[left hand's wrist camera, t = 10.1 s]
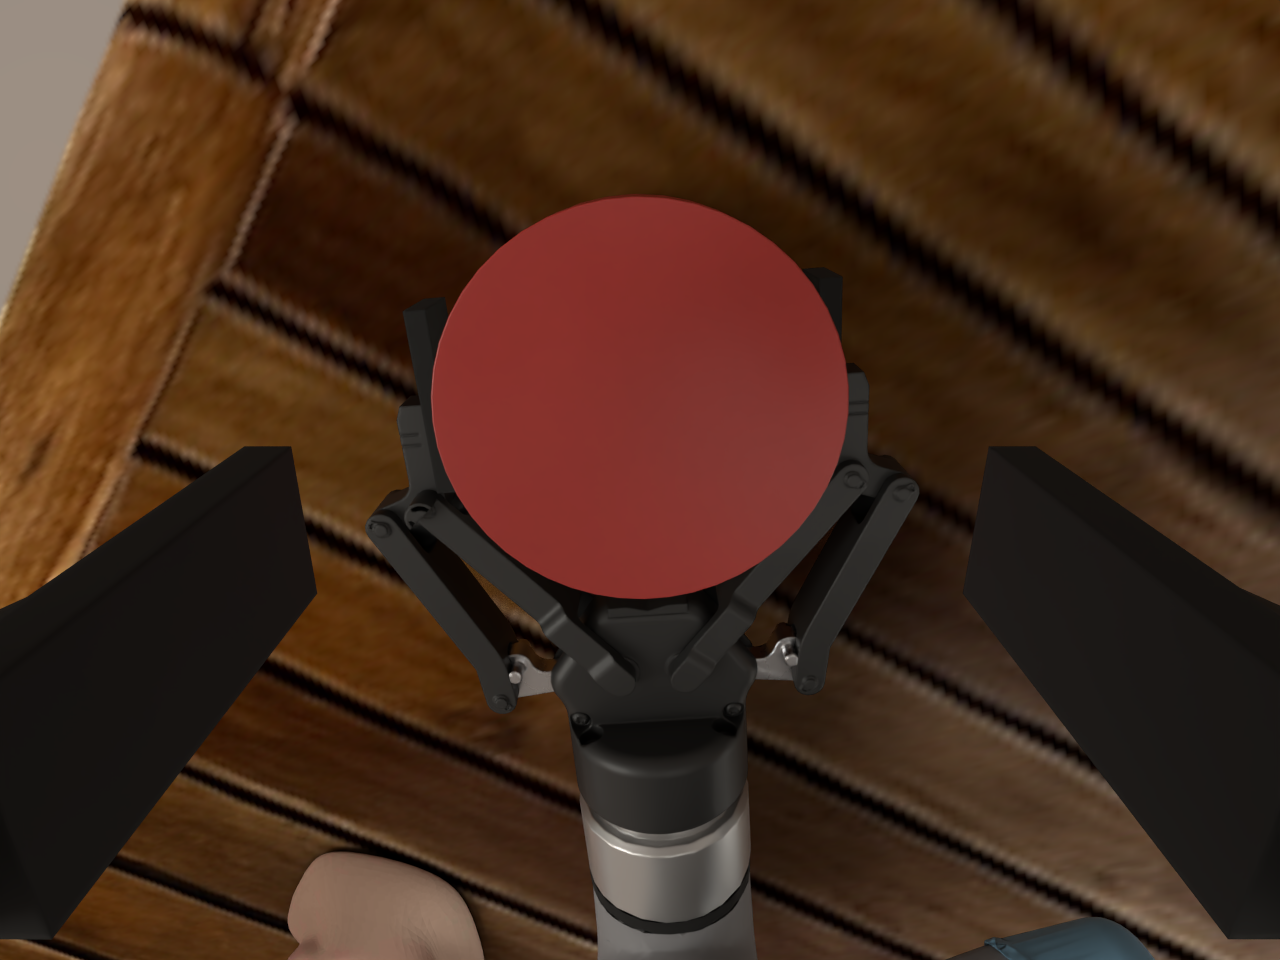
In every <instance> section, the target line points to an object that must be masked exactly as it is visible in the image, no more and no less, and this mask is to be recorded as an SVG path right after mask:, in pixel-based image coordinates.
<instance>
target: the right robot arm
mask: <svg viewBox="0 0 1280 960" xmlns="http://www.w3.org/2000/svg"><path fill="white" fill-rule="evenodd" d="M803 273H804V274H805V275H806V276H807V278H808V279H809V280H810V281H811V282H812V284H813V285H814V287H815V288H816V290H817V292H818V293H819V295H820V297H821V298H822V300H823V302H824V303H825V305H826V307H827V308H828V311H829V313H830V315H831V318H832V320H833V322H834V325H835V327H836V329H837V332H838V334H839V338H840V342H841V328H842V276H840V275H838V274H836V273H834V272H832V271H830V270H828V269H826V268H824V267H821V268H808V269H803ZM403 315H404V321H405V326H406V331H407V337H408V342H409V347H410V352H411V358H412V363H413V368H414V373H415V379H416V384H417V389H418V395H417V396H410V397H409V398H408V399H407V400H406V401H405V402H404V403H403V404H402V405H401V406H400V407H399V412H398V417H397V424H398V429H399V434H400V439H401V444H402V447H403V448H402V449H403V454H404V459H405V464H406V469H407V474H408V479H409V487H407V488H405V489H403V490H394V491H391V492H390V493H389V494H388V495H387V496H386V497H385V499H384V500H383V501H382V502H381V504H380V505H379V506H378V508H377V509H376V510H375V511H374V513H373V514H372V515H371V517H370V518H369V519H368V520H367V523H366V525H365V528H366V533H367V535H368V537H369V538H370V539H371V540H372V542H373V543H374V544H375V545H376V547H377V548H378V549H379V550H380V552H381V553H382V554H383V555H384V557H385V558H386V559H387V560H388V561H389V563H390V564H391V565H392V566H393V568H394V569H395V570H396V571H397V573H398V574H399V575H400V576H401V578H402V579H403V580H404V581H405V583H406V584H407V585H408V586H409V587H410V589H411V590H412V591H413V592H414V594H415V595H416V596H417V597H418V599H419V600H420V601H421V602H422V604H423V605H424V606H425V607H426V608H427V610H428V611H429V612H430V613H431V615H432V616H433V617H434V618H435V620H436V621H437V622H438V623H439V625H440V626H441V627H442V628H443V629H444V631H445V632H446V633H447V634H448V636H449V637H450V638H451V639H452V641H453V642H454V643H455V644H456V646H457V647H458V648H459V649H460V650H461V652H462V653H463V654H464V655H465V657H466V658H467V659H468V660H469V662H470V663H471V664H472V665H473V667H474V668H475V669H476V670H477V673H478V676H479V680H480V683H481V686H482V689H483V692H484V695H485V698H486V701H487V704H488V706H489V708H490V709H491V710H493V711H494V712H497V713H500V714H506V713H509V712H511V711H512V710H513V709H515V706H516V704H517V700H518V697H523V696H529V695H535V694H541V693H548V692H555V693H556V695H557V696H558V697H559V698H560V699H561V700H562V702H563V703H564V705H565V707H566V709H567V712H568V717H569V724H570V731H571V738H572V745H573V753H574V760H575V767H576V774H577V781H578V787H579V790H580V805H581V812H582V818H583V825H584V832H585V838H586V845H587V852H588V858H589V867H590V872H591V878H592V883H593V889H594V900H595V910H596V920H597V932H598V960H757V953H756V946H755V938H754V928H753V913H752V899H751V885H750V852H751V841H750V817H749V793H748V781H747V772H748V757H747V726H746V697H747V693H748V691H749V689H750V687H751V686H752V684H753V682H754V681H755V679H768V680H793V682H794V685H795V688H796V689H797V691H798V692H800V693H802V694H805V695H813V694H815V693H817V692H819V691H820V690H821V689H822V688H823V686H824V683H825V677H826V670H827V664H828V657H829V650H830V647H831V645H832V643H833V642H834V640H835V638H836V637H837V635H838V633H839V631H840V630H841V628H842V626H843V625H844V623H845V621H846V620H847V618H848V616H849V614H850V613H851V611H852V609H853V608H854V606H855V604H856V602H857V601H858V599H859V597H860V596H861V594H862V592H863V591H864V589H865V587H866V585H867V584H868V582H869V580H870V579H871V577H872V575H873V574H874V572H875V570H876V568H877V567H878V565H879V563H880V562H881V560H882V558H883V556H884V555H885V553H886V551H887V550H888V548H889V546H890V545H891V543H892V541H893V539H894V538H895V536H896V534H897V533H898V531H899V529H900V527H901V526H902V524H903V522H904V521H905V519H906V517H907V516H908V514H909V512H910V510H911V509H912V507H913V505H914V504H915V502H916V500H917V498H918V495H919V487H918V485H917V483H916V482H915V481H914V480H913V478H912V477H911V476H910V475H909V474H908V473H907V472H906V471H905V470H904V468H903V467H902V466H901V465H900V464H899V463H898V462H897V461H896V459H894V458H893V457H891V456H888V455H882V456H876V455H873V454H869V453H867V437H868V407H869V403H868V401H869V384H868V381H867V379H866V376H865V374H864V372H863V371H862V370H861V369H860V368H859V367H858V366H856V365H855V364H854V363H846V369H847V377H848V385H849V407H848V419H847V426H846V433H845V439H844V443H843V446H842V449H841V453H840V456H839V460H838V463H837V466H836V468H835V470H834V473H833V475H832V477H831V479H830V482H829V484H828V486H827V488H826V490H825V492H824V493H823V495H822V497H821V498H820V500H819V502H818V503H817V505H816V507H815V508H814V510H813V511H812V512H811V514H810V515H809V516H808V517H807V519H806V520H805V521H804V522H803V524H802V525H801V526H800V528H799V529H798V530H797V531H796V532H795V533H794V534H793V535H792V536H791V537H790V538H789V539H788V540H787V541H786V542H785V543H784V544H783V545H782V546H781V547H779V548H778V549H777V550H776V551H774V552H773V553H772V554H770V555H769V556H768V557H767V558H765V559H764V560H763V561H761V562H760V563H758V564H756V565H755V566H753V567H751V568H750V569H748V570H746V571H745V572H743V573H741V574H740V575H738V576H735V577H733V578H731V579H729V580H727V581H724V582H722V583H720V584H718V585H715V586H712V587H709V588H705V589H702V590H699V591H696V592H692V593H687V594H682V595H677V596H672V597H663V598H650V599H632V598H616V597H610V596H603V595H596V594H592V593H589V592H585V591H581V590H578V589H574V588H571V587H568V586H566V585H563V584H561V583H558V582H556V581H553V580H551V579H548V578H546V577H544V576H543V575H541V574H539V573H537V572H535V571H533V570H532V569H530V568H528V567H526V566H525V565H523V564H522V563H521V562H519V561H518V560H516V559H515V558H514V557H512V556H511V555H509V554H508V553H507V552H505V551H504V550H503V549H502V548H501V547H500V546H499V545H498V544H497V543H495V542H494V541H493V540H492V539H491V538H490V537H489V536H488V535H487V534H486V533H485V532H484V531H483V529H482V528H481V527H480V526H479V525H478V524H477V522H476V521H475V520H474V519H473V518H472V517H471V515H470V514H469V512H468V511H467V509H466V508H465V506H464V505H463V503H462V502H461V500H460V499H459V497H458V496H457V494H456V492H455V490H454V488H453V486H452V484H451V482H450V479H449V477H448V475H447V473H446V471H445V468H444V465H443V462H442V459H441V456H440V453H439V450H438V447H437V442H436V437H435V432H434V427H433V422H432V405H431V389H432V376H433V367H434V362H435V358H436V353H437V349H438V344H439V341H440V338H441V335H442V333H443V330H444V327H445V325H446V322H447V319H448V313H447V307H446V302H445V297H441V298H429V299H423V300H421V301H420V302H418V303H416V304H414V305H413V306H411V307H409V308H408V309H406V310H404V311H403ZM838 519H839V520H838ZM837 520H838V522H837V524H836V526H835V527H834V529H833V531H832V533H831V535H830V537H829V538H828V540H827V542H826V544H825V546H824V547H823V549H822V551H821V553H820V555H819V557H818V558H817V560H816V562H815V564H814V566H813V567H812V569H811V571H810V573H809V575H808V576H807V578H806V580H805V582H804V584H803V586H802V587H801V589H800V591H799V593H798V595H797V596H796V598H795V601H794V603H793V605H792V607H791V611H790V614H789V618H788V623H784V622H782V623H779V624H777V626H776V627H775V630H774V631H773V632H772V635H771V637H770V639H769V640H768V641H767V642H766V643H765V644H763V645H761V646H752V643H751V642H750V640H749V639H748V638H747V637H746V636H745V634H744V633H745V632H746V630H747V629H748V628H749V627H750V626H751V625H752V623H753V621H754V620H755V617H756V614H757V611H758V609H759V607H760V606H761V605H762V604H763V603H764V601H765V600H766V599H767V598H768V597H769V596H770V595H771V594H772V593H773V591H774V590H775V589H776V588H777V587H778V586H779V585H780V584H781V583H782V581H783V580H784V579H785V578H786V577H787V576H788V575H789V574H790V573H791V571H792V570H793V569H794V568H795V567H796V566H797V565H798V564H799V563H800V561H801V560H802V559H803V558H804V557H805V556H806V555H807V554H808V552H809V551H810V550H811V549H812V548H813V547H814V546H815V545H816V544H817V542H818V541H819V540H820V539H821V538H822V537H823V536H824V535H825V534H826V532H827V531H828V530H829V529H830V528H831V527H832V526H833V525H834V524H835V522H836V521H837ZM460 558H462V559H463V560H464V561H465V562H466V563H468V564H469V565H470V566H471V567H472V568H474V569H475V570H476V571H477V572H478V573H480V574H481V575H482V576H483V577H484V578H486V579H487V580H488V581H489V582H491V583H492V584H493V585H494V586H495V587H497V588H498V589H499V590H500V591H501V592H503V593H504V594H505V595H506V596H507V597H509V598H510V599H511V600H512V601H513V602H515V603H516V604H517V605H518V606H519V607H521V608H522V609H523V610H524V611H525V612H527V613H528V614H529V615H530V616H531V617H533V618H534V619H535V620H536V621H537V622H538V623H539V624H540V626H541V628H542V631H543V633H544V634H545V636H546V637H547V638H548V639H549V640H550V641H552V642H553V643H554V644H555V645H556V646H558V647H559V649H558V650H557V652H556V654H555V656H554V659H543V658H541V657H539V656H538V655H537V654H536V653H535V651H534V650H533V648H532V647H531V646H530V643H529V642H528V641H527V640H525V639H520V640H518V641H517V638H516V636H515V633H514V631H513V629H512V627H511V625H510V623H509V622H508V620H507V619H506V617H505V616H504V615H503V613H502V612H501V611H500V609H499V608H498V607H497V606H496V604H495V603H494V602H493V600H492V599H491V598H490V596H489V595H488V594H487V593H486V591H485V590H484V589H483V587H482V586H481V585H480V583H479V582H478V581H477V580H476V578H475V577H474V576H473V574H472V573H471V572H470V570H469V569H468V568H467V567H466V565H465V564H464V563H463V561H462V560H461V559H460ZM946 960H1155V959H1154V958H1153V956H1152V955H1151V954H1150V953H1149V951H1148V950H1147V949H1146V948H1145V946H1144V945H1143V944H1142V943H1141V942H1140V941H1139V940H1138V939H1137V938H1136V937H1135V936H1134V935H1133V934H1132V933H1131V932H1130V931H1128V930H1127V929H1126V928H1124V927H1123V926H1121V925H1119V924H1117V923H1115V922H1113V921H1110V920H1108V919H1104V918H1100V917H1086V918H1081V919H1077V920H1073V921H1069V922H1065V923H1061V924H1057V925H1053V926H1049V927H1045V928H1041V929H1037V930H1033V931H1029V932H1025V933H1021V934H1017V935H1013V936H1009V937H1005V938H996V937H993V938H990V939H987V940H985V942H984V946H982V947H979V948H977V949H974V950H971V951H968V952H965V953H963V954H960V955H957V956H954V957H952V958H949V959H946Z"/></svg>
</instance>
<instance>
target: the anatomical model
mask: <svg viewBox="0 0 1280 960" xmlns="http://www.w3.org/2000/svg"><path fill="white" fill-rule="evenodd" d="M288 925H289V929H290V931H291V933H292V934H293V936H294V937H295V939H296V940H297V941H298V942H299V943H300V945H299V947H298V948H297V949H296V950H295V951H294V952H293V953H292V954H291V956H290V957H289V958H288V960H484V956H483V950H482V946H481V942H480V939H479V936H478V932H477V929H476V926H475V923H474V921H473V918H472V916H471V914H470V911H469V909H468V907H467V905H466V903H465V902H464V900H463V899H462V897H461V896H460V894H459V893H458V892H457V891H456V890H455V889H454V888H453V887H452V886H451V885H450V884H449V883H447V882H446V881H444V880H443V879H441V878H440V877H438V876H436V875H434V874H432V873H430V872H428V871H425V870H423V869H420V868H418V867H415V866H412V865H409V864H406V863H403V862H399V861H395V860H391V859H387V858H383V857H378V856H373V855H368V854H362V853H354V852H331V853H326V854H323V855H321V856H319V857H318V858H316V859H315V860H314V861H313V862H312V863H311V865H310V866H309V867H308V869H307V870H306V872H305V873H304V875H303V877H302V879H301V881H300V883H299V885H298V886H297V888H296V890H295V893H294V895H293V898H292V901H291V905H290V909H289V914H288Z"/></svg>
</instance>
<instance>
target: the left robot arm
mask: <svg viewBox="0 0 1280 960" xmlns="http://www.w3.org/2000/svg"><path fill="white" fill-rule="evenodd" d="M316 594H317V590H316V584H315V578H314V573H313V567H312V561H311V556H310V550H309V545H308V539H307V533H306V528H305V522H304V516H303V511H302V505H301V500H300V494H299V488H298V483H297V477H296V471H295V466H294V460H293V455H292V449H291V446H244V447H243V448H242V449H240V450H239V451H237V452H236V453H234V454H233V455H231V456H230V457H229V458H227V459H226V460H224V461H223V462H221V463H220V464H218V465H217V466H216V467H214V468H213V469H211V470H210V471H208V472H207V473H205V474H204V475H203V476H201V477H200V478H198V479H197V480H195V481H194V482H192V483H191V484H190V485H188V486H187V487H185V488H184V489H182V490H181V491H179V492H178V493H177V494H175V495H174V496H172V497H171V498H169V499H168V500H166V501H165V502H164V503H162V504H161V505H159V506H158V507H156V508H155V509H153V510H152V511H151V512H149V513H148V514H146V515H145V516H143V517H142V518H140V519H139V520H138V521H136V522H135V523H133V524H132V525H130V526H129V527H127V528H126V529H125V530H123V531H122V532H120V533H119V534H117V535H116V536H114V537H113V538H112V539H110V540H109V541H107V542H106V543H104V544H103V545H101V546H100V547H99V548H97V549H96V550H94V551H93V552H91V553H90V554H88V555H87V556H86V557H84V558H83V559H81V560H80V561H78V562H77V563H75V564H74V565H73V566H71V567H70V568H68V569H67V570H65V571H64V572H62V573H61V574H60V575H58V576H57V577H55V578H54V579H52V580H51V581H49V582H48V583H47V584H45V585H44V586H42V587H41V588H39V589H38V590H36V591H35V592H34V593H32V594H31V595H29V596H28V597H26V598H24V599H22V600H19V601H17V602H15V603H13V604H10V605H8V606H6V607H4V608H2V609H0V939H52V938H53V937H54V936H55V934H56V933H57V932H58V931H59V929H60V928H61V927H62V925H63V924H64V923H65V921H66V920H67V919H68V918H69V916H70V915H71V914H72V912H73V911H74V910H75V908H76V907H77V906H78V904H79V903H80V902H81V901H82V899H83V898H84V897H85V895H86V894H87V893H88V891H89V890H90V889H91V888H92V886H93V885H94V884H95V882H96V881H97V880H98V878H99V877H100V876H101V875H102V873H103V872H104V871H105V869H106V868H107V867H108V865H109V864H110V863H111V861H112V860H113V859H114V858H115V856H116V855H117V854H118V852H119V851H120V850H121V848H122V847H123V846H124V845H125V843H126V842H127V841H128V839H129V838H130V837H131V835H132V834H133V833H134V831H135V830H136V829H137V828H138V826H139V825H140V824H141V822H142V821H143V820H144V818H145V817H146V816H147V815H148V813H149V812H150V811H151V809H152V808H153V807H154V805H155V804H156V803H157V802H158V800H159V799H160V798H161V796H162V795H163V794H164V792H165V791H166V790H167V788H168V787H169V786H170V785H171V783H172V782H173V781H174V779H175V778H176V777H177V775H178V774H179V773H180V772H181V770H182V769H183V768H184V766H185V765H186V764H187V762H188V761H189V760H190V758H191V757H192V756H193V755H194V753H195V752H196V751H197V749H198V748H199V747H200V745H201V744H202V743H203V742H204V740H205V739H206V738H207V736H208V735H209V734H210V732H211V731H212V730H213V728H214V727H215V726H216V725H217V723H218V722H219V721H220V719H221V718H222V717H223V715H224V714H225V713H226V712H227V710H228V709H229V708H230V706H231V705H232V704H233V702H234V701H235V700H236V699H237V697H238V696H239V695H240V693H241V692H242V691H243V689H244V688H245V687H246V685H247V684H248V683H249V682H250V680H251V679H252V678H253V676H254V675H255V674H256V672H257V671H258V670H259V669H260V667H261V666H262V665H263V663H264V662H265V661H266V659H267V658H268V657H269V655H270V654H271V653H272V652H273V650H274V649H275V648H276V646H277V645H278V644H279V642H280V641H281V640H282V639H283V637H284V636H285V635H286V633H287V632H288V631H289V629H290V628H291V627H292V626H293V624H294V623H295V622H296V620H297V619H298V618H299V616H300V615H301V614H302V612H303V611H304V610H305V609H306V607H307V606H308V605H309V603H310V602H311V601H312V599H313V598H314V597H315V596H316ZM963 594H964V596H965V597H966V598H967V599H968V601H969V602H970V603H971V605H972V606H973V607H974V609H975V610H976V611H977V612H978V614H979V615H980V616H981V618H982V619H983V620H984V622H985V623H986V624H987V626H988V627H989V628H990V629H991V631H992V632H993V633H994V635H995V636H996V637H997V639H998V640H999V641H1000V642H1001V644H1002V645H1003V646H1004V648H1005V649H1006V650H1007V652H1008V653H1009V654H1010V655H1011V657H1012V658H1013V659H1014V661H1015V662H1016V663H1017V665H1018V666H1019V667H1020V669H1021V670H1022V671H1023V672H1024V674H1025V675H1026V676H1027V678H1028V679H1029V680H1030V682H1031V683H1032V684H1033V685H1034V687H1035V688H1036V689H1037V691H1038V692H1039V693H1040V695H1041V696H1042V697H1043V699H1044V700H1045V701H1046V702H1047V704H1048V705H1049V706H1050V708H1051V709H1052V710H1053V712H1054V713H1055V714H1056V715H1057V717H1058V718H1059V719H1060V721H1061V722H1062V723H1063V725H1064V726H1065V727H1066V728H1067V730H1068V731H1069V732H1070V734H1071V735H1072V736H1073V738H1074V739H1075V740H1076V742H1077V743H1078V744H1079V745H1080V747H1081V748H1082V749H1083V751H1084V752H1085V753H1086V755H1087V756H1088V757H1089V758H1090V760H1091V761H1092V762H1093V764H1094V765H1095V766H1096V768H1097V769H1098V770H1099V772H1100V773H1101V774H1102V775H1103V777H1104V778H1105V779H1106V781H1107V782H1108V783H1109V785H1110V786H1111V787H1112V788H1113V790H1114V791H1115V792H1116V794H1117V795H1118V796H1119V798H1120V799H1121V800H1122V802H1123V803H1124V804H1125V805H1126V807H1127V808H1128V809H1129V811H1130V812H1131V813H1132V815H1133V816H1134V817H1135V818H1136V820H1137V821H1138V822H1139V824H1140V825H1141V826H1142V828H1143V829H1144V830H1145V831H1146V833H1147V834H1148V835H1149V837H1150V838H1151V839H1152V841H1153V842H1154V843H1155V845H1156V846H1157V847H1158V848H1159V850H1160V851H1161V852H1162V854H1163V855H1164V856H1165V858H1166V859H1167V860H1168V861H1169V863H1170V864H1171V865H1172V867H1173V868H1174V869H1175V871H1176V872H1177V873H1178V875H1179V876H1180V877H1181V878H1182V880H1183V881H1184V882H1185V884H1186V885H1187V886H1188V888H1189V889H1190V890H1191V891H1192V893H1193V894H1194V895H1195V897H1196V898H1197V899H1198V901H1199V902H1200V903H1201V904H1202V906H1203V907H1204V908H1205V910H1206V911H1207V912H1208V914H1209V915H1210V916H1211V918H1212V919H1213V920H1214V921H1215V923H1216V924H1217V925H1218V927H1219V928H1220V929H1221V931H1222V932H1223V933H1224V934H1225V936H1226V937H1227V938H1228V939H1280V606H1279V605H1277V604H1275V603H1273V602H1270V601H1268V600H1266V599H1264V598H1261V597H1259V596H1257V595H1255V594H1252V593H1250V592H1248V591H1246V590H1244V589H1241V588H1239V587H1238V586H1236V585H1235V584H1233V583H1232V582H1231V581H1229V580H1228V579H1226V578H1225V577H1223V576H1222V575H1220V574H1219V573H1218V572H1216V571H1215V570H1213V569H1212V568H1210V567H1209V566H1207V565H1206V564H1205V563H1203V562H1202V561H1200V560H1199V559H1197V558H1196V557H1194V556H1193V555H1192V554H1190V553H1189V552H1187V551H1186V550H1184V549H1183V548H1181V547H1180V546H1179V545H1177V544H1176V543H1174V542H1173V541H1171V540H1170V539H1168V538H1167V537H1166V536H1164V535H1163V534H1161V533H1160V532H1158V531H1157V530H1155V529H1154V528H1153V527H1151V526H1150V525H1148V524H1147V523H1145V522H1144V521H1142V520H1141V519H1140V518H1138V517H1137V516H1135V515H1134V514H1132V513H1131V512H1129V511H1128V510H1127V509H1125V508H1124V507H1122V506H1121V505H1119V504H1118V503H1116V502H1115V501H1114V500H1112V499H1111V498H1109V497H1108V496H1106V495H1105V494H1103V493H1102V492H1101V491H1099V490H1098V489H1096V488H1095V487H1093V486H1092V485H1090V484H1089V483H1088V482H1086V481H1085V480H1083V479H1082V478H1080V477H1079V476H1077V475H1076V474H1075V473H1073V472H1072V471H1070V470H1069V469H1067V468H1066V467H1064V466H1063V465H1062V464H1060V463H1059V462H1057V461H1056V460H1054V459H1053V458H1051V457H1050V456H1049V455H1047V454H1046V453H1044V452H1043V451H1041V450H1040V449H1038V448H1037V447H1036V446H989V449H988V455H987V460H986V466H985V471H984V477H983V483H982V488H981V494H980V500H979V505H978V511H977V516H976V522H975V528H974V533H973V539H972V545H971V550H970V556H969V561H968V567H967V573H966V578H965V584H964V590H963Z"/></svg>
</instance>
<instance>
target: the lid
mask: <svg viewBox="0 0 1280 960" xmlns="http://www.w3.org/2000/svg"><path fill="white" fill-rule="evenodd" d="M431 405H432V422H433V427H434V432H435V437H436V442H437V447H438V450H439V453H440V456H441V459H442V462H443V465H444V468H445V471H446V473H447V475H448V477H449V479H450V482H451V484H452V486H453V488H454V490H455V492H456V494H457V496H458V497H459V499H460V500H461V502H462V503H463V505H464V506H465V508H466V509H467V511H468V512H469V514H470V515H471V517H472V518H473V519H474V520H475V521H476V522H477V524H478V525H479V526H480V527H481V528H482V529H483V531H484V532H485V533H486V534H487V535H488V536H489V537H490V538H491V539H492V540H493V541H494V542H495V543H497V544H498V545H499V546H500V547H501V548H502V549H503V550H504V551H505V552H507V553H508V554H509V555H511V556H512V557H514V558H515V559H516V560H518V561H519V562H521V563H522V564H523V565H525V566H526V567H528V568H530V569H532V570H533V571H535V572H537V573H539V574H541V575H543V576H544V577H546V578H548V579H551V580H553V581H556V582H558V583H561V584H563V585H566V586H568V587H571V588H574V589H578V590H581V591H585V592H589V593H592V594H596V595H603V596H610V597H616V598H632V599H650V598H663V597H672V596H677V595H682V594H687V593H692V592H696V591H699V590H702V589H705V588H709V587H712V586H715V585H718V584H720V583H722V582H724V581H727V580H729V579H731V578H733V577H735V576H738V575H740V574H741V573H743V572H745V571H746V570H748V569H750V568H751V567H753V566H755V565H756V564H758V563H760V562H761V561H763V560H764V559H765V558H767V557H768V556H769V555H770V554H772V553H773V552H774V551H776V550H777V549H778V548H779V547H781V546H782V545H783V544H784V543H785V542H786V541H787V540H788V539H789V538H790V537H791V536H792V535H793V534H794V533H795V532H796V531H797V530H798V529H799V528H800V526H801V525H802V524H803V522H804V521H805V520H806V519H807V517H808V516H809V515H810V514H811V512H812V511H813V510H814V508H815V507H816V505H817V503H818V502H819V500H820V498H821V497H822V495H823V493H824V492H825V490H826V488H827V486H828V484H829V482H830V479H831V477H832V475H833V473H834V470H835V468H836V466H837V463H838V460H839V456H840V453H841V449H842V446H843V443H844V439H845V433H846V426H847V419H848V407H849V385H848V377H847V369H846V361H845V357H844V353H843V349H842V345H841V342H840V338H839V334H838V332H837V329H836V327H835V325H834V322H833V320H832V318H831V315H830V313H829V311H828V308H827V307H826V305H825V303H824V302H823V300H822V298H821V297H820V295H819V293H818V292H817V290H816V288H815V287H814V285H813V284H812V282H811V281H810V280H809V279H808V278H807V276H806V275H805V274H804V273H803V271H802V270H801V269H800V268H799V266H798V265H797V264H796V263H795V262H794V261H793V260H792V259H791V258H790V257H789V256H788V255H787V254H786V253H785V252H783V251H782V250H781V249H780V248H779V247H778V246H777V245H776V244H775V243H774V242H772V241H771V240H769V239H768V238H766V237H765V236H764V235H762V234H761V233H759V232H758V231H756V230H755V229H753V228H752V227H751V226H749V225H747V224H745V223H743V222H741V221H739V220H737V219H735V218H733V217H731V216H729V215H727V214H725V213H723V212H721V211H719V210H717V209H714V208H711V207H708V206H705V205H702V204H699V203H696V202H694V201H691V200H686V199H680V198H675V197H670V196H664V195H648V194H629V195H619V196H608V197H604V198H599V199H595V200H591V201H587V202H583V203H579V204H577V205H574V206H572V207H569V208H567V209H564V210H562V211H559V212H556V213H554V214H552V215H550V216H548V217H546V218H544V219H543V220H541V221H539V222H537V223H535V224H534V225H532V226H530V227H528V228H527V229H525V230H523V231H521V232H520V233H519V234H517V235H516V236H515V237H514V238H512V239H511V240H510V241H508V242H507V243H506V244H504V245H503V246H502V247H501V248H499V249H498V250H497V251H496V252H495V253H494V254H493V255H492V256H491V257H490V258H489V259H488V260H487V261H486V262H485V263H484V264H483V265H482V266H481V267H480V268H479V269H478V271H477V272H476V273H475V275H474V276H473V278H472V279H471V280H470V282H469V283H468V284H467V286H466V287H465V288H464V290H463V291H462V293H461V294H460V296H459V298H458V300H457V302H456V304H455V305H454V307H453V309H452V311H451V313H450V315H449V317H448V319H447V322H446V325H445V327H444V330H443V333H442V335H441V338H440V341H439V344H438V349H437V353H436V358H435V362H434V367H433V376H432V389H431Z"/></svg>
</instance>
